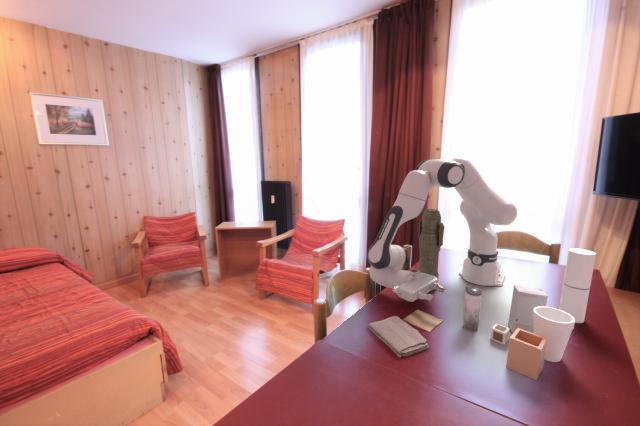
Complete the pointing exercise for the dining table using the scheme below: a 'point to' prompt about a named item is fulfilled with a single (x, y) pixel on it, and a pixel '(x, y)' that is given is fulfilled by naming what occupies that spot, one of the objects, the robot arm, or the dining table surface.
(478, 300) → the tin canister
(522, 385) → the dining table surface
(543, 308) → the foam cup
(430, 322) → the cork coaster
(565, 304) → the cylindrical container
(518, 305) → the skincare box
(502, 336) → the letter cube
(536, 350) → the terracotta planter
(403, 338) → the washcloth
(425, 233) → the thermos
